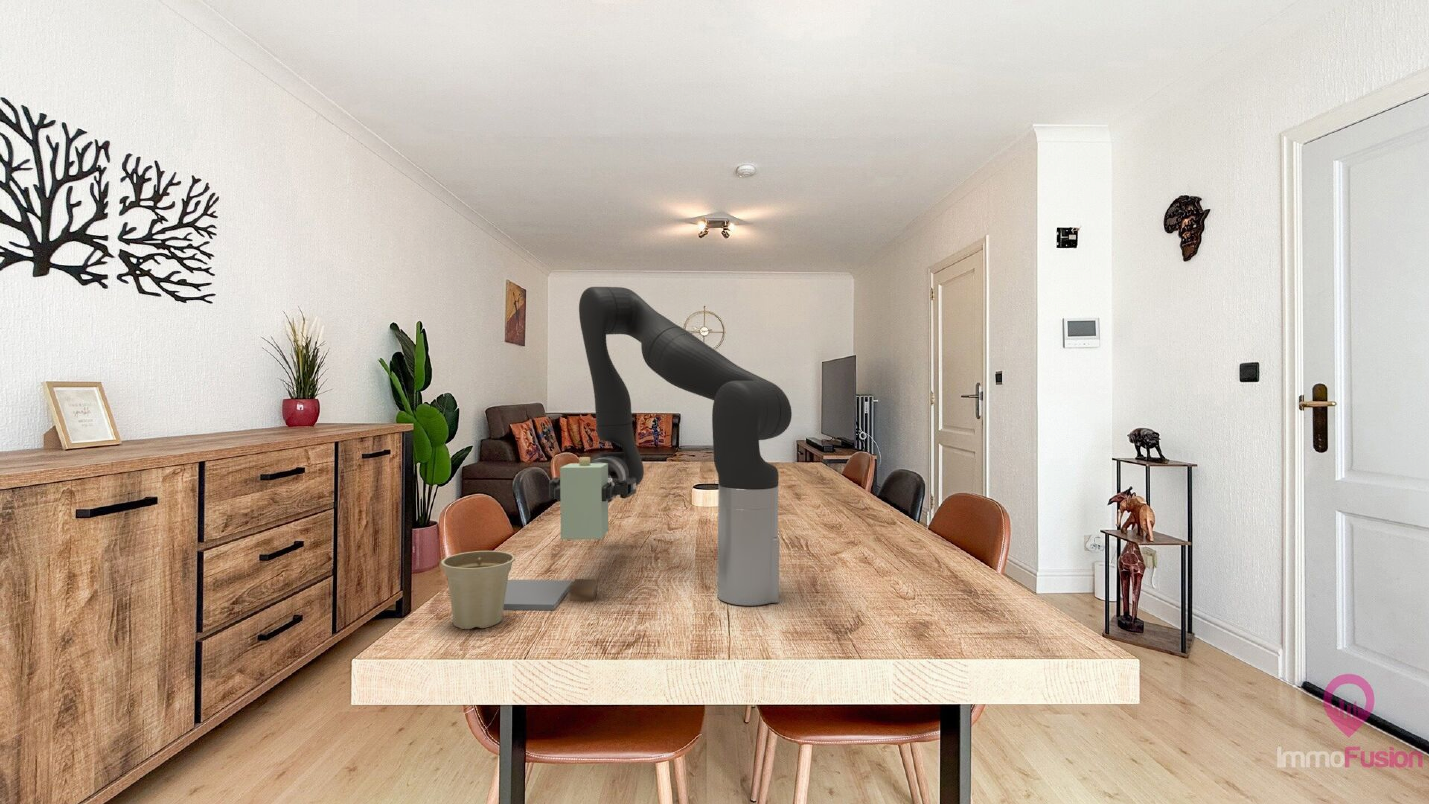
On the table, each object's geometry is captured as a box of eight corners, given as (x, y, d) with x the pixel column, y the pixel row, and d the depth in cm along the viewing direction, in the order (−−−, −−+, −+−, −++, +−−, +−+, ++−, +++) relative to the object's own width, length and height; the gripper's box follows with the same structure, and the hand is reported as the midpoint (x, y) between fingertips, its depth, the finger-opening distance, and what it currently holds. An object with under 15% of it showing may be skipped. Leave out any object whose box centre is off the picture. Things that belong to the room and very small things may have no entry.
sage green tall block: (608, 530, 102) (607, 455, 102) (601, 539, 96) (600, 459, 96) (570, 531, 102) (569, 455, 102) (560, 539, 96) (560, 459, 96)
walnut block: (597, 595, 101) (597, 579, 101) (592, 602, 98) (592, 585, 98) (575, 595, 101) (575, 579, 101) (570, 602, 98) (570, 585, 98)
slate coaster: (572, 585, 105) (572, 580, 105) (554, 610, 93) (554, 604, 93) (498, 584, 105) (498, 579, 105) (470, 609, 93) (470, 603, 93)
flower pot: (525, 611, 93) (525, 551, 92) (497, 636, 83) (497, 569, 83) (462, 609, 94) (462, 549, 93) (427, 633, 84) (427, 566, 84)
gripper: (560, 458, 113) (533, 469, 96) (643, 458, 113) (630, 469, 96) (560, 501, 113) (533, 520, 96) (643, 501, 113) (630, 519, 96)
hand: (581, 494), depth 97 cm, fingers closed on sage green tall block, 6 cm apart
